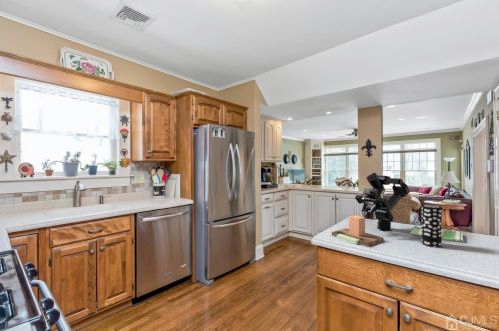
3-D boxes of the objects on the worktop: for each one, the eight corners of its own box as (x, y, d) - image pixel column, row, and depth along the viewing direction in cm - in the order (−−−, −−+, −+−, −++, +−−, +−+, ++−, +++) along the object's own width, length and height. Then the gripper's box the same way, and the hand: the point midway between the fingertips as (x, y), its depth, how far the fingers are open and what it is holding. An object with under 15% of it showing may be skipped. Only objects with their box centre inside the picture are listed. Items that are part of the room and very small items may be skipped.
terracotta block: (355, 232, 138) (355, 215, 138) (365, 234, 133) (365, 217, 132) (349, 234, 134) (349, 216, 134) (358, 236, 129) (358, 218, 129)
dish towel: (414, 228, 152) (414, 224, 152) (462, 236, 137) (462, 231, 137) (410, 235, 139) (410, 230, 139) (463, 244, 123) (463, 239, 123)
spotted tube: (437, 242, 125) (437, 205, 124) (444, 248, 117) (445, 208, 116) (418, 241, 127) (419, 204, 127) (424, 246, 119) (425, 207, 119)
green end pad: (340, 237, 135) (340, 233, 135) (359, 243, 125) (359, 239, 125) (336, 238, 133) (336, 234, 133) (356, 244, 123) (356, 240, 123)
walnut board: (347, 231, 147) (347, 227, 147) (383, 241, 128) (383, 237, 128) (331, 235, 139) (331, 232, 139) (367, 246, 120) (367, 242, 120)
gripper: (356, 182, 148) (345, 201, 143) (387, 184, 133) (376, 206, 127) (363, 193, 153) (353, 212, 147) (394, 197, 137) (384, 218, 131)
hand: (365, 212), depth 138 cm, fingers open, 5 cm apart
